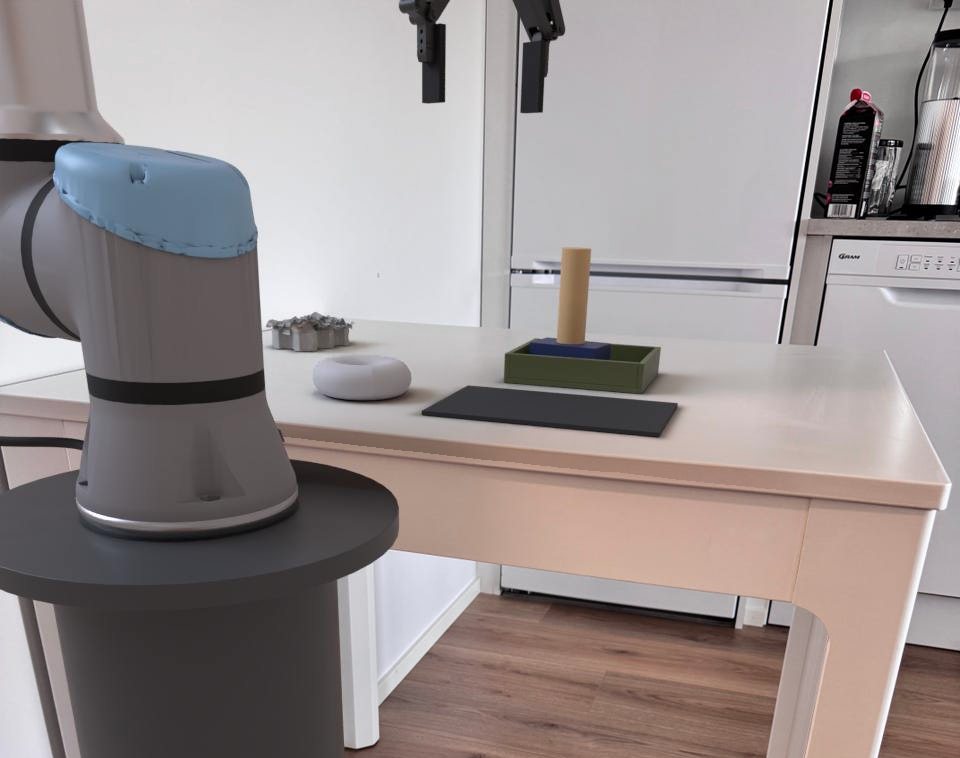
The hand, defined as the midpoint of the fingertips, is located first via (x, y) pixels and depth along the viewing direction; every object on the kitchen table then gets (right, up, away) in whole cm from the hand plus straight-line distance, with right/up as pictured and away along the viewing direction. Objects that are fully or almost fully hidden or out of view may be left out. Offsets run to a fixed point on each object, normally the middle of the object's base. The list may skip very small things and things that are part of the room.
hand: (484, 108), depth 98 cm
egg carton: (-23, -16, +27) cm, 39 cm away
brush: (+10, -24, +11) cm, 28 cm away
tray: (+11, -25, +10) cm, 29 cm away
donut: (-12, -30, -1) cm, 33 cm away
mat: (+7, -33, -7) cm, 34 cm away
